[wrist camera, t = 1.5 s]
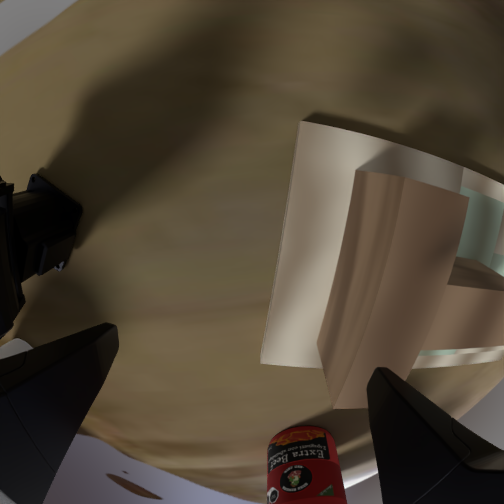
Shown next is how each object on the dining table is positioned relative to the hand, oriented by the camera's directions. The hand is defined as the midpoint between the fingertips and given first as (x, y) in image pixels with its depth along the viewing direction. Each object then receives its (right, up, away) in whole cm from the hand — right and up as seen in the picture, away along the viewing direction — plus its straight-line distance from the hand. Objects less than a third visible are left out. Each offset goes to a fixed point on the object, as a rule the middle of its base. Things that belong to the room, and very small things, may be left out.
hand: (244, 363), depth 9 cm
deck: (+16, +2, +12) cm, 20 cm away
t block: (+12, +2, +11) cm, 16 cm away
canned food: (+6, -18, +19) cm, 27 cm away
